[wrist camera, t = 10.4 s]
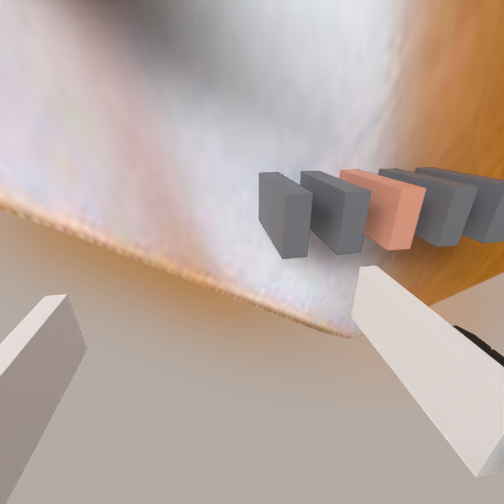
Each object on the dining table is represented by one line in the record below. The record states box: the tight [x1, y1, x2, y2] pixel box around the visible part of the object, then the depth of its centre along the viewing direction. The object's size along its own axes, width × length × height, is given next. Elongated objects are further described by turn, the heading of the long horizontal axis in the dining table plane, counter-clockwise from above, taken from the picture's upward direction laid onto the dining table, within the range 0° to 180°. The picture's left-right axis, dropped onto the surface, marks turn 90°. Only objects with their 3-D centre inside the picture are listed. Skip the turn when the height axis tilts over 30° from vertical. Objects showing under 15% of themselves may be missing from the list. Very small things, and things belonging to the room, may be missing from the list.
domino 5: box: [415, 167, 504, 243], centre depth 27 cm, size 2×5×10 cm, turn 0°
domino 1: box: [259, 172, 313, 259], centre depth 24 cm, size 2×5×10 cm, turn 0°
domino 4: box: [378, 169, 479, 247], centre depth 26 cm, size 2×5×10 cm, turn 0°
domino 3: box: [340, 169, 426, 250], centre depth 25 cm, size 2×5×10 cm, turn 0°
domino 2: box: [300, 171, 372, 255], centre depth 25 cm, size 2×5×10 cm, turn 0°
